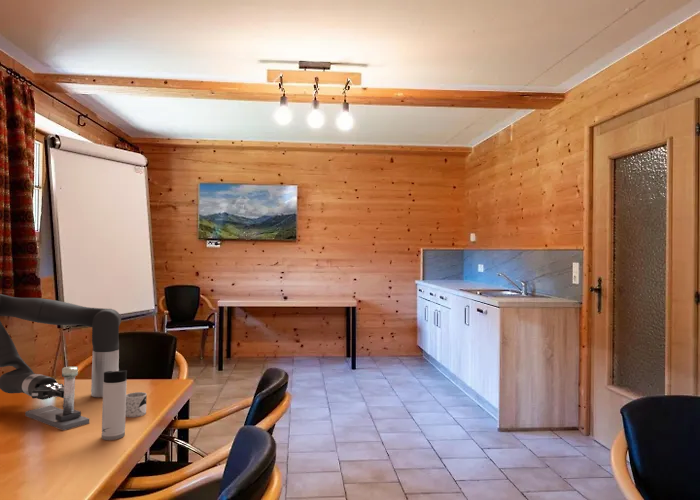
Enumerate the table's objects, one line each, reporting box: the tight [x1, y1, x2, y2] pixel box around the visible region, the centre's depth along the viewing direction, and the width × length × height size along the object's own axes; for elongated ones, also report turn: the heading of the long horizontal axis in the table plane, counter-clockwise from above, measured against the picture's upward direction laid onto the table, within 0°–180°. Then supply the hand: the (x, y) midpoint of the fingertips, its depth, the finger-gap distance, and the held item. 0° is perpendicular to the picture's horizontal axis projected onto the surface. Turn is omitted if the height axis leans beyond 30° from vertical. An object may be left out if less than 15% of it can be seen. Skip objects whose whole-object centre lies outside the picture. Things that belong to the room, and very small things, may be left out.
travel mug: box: [101, 369, 128, 441], centre depth 140 cm, size 6×7×20 cm
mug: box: [125, 391, 148, 418], centre depth 162 cm, size 10×7×7 cm
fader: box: [55, 365, 82, 422], centre depth 150 cm, size 4×6×16 cm
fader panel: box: [24, 405, 90, 431], centre depth 154 cm, size 24×8×2 cm, turn 59°
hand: (66, 394), depth 151 cm, fingers closed
